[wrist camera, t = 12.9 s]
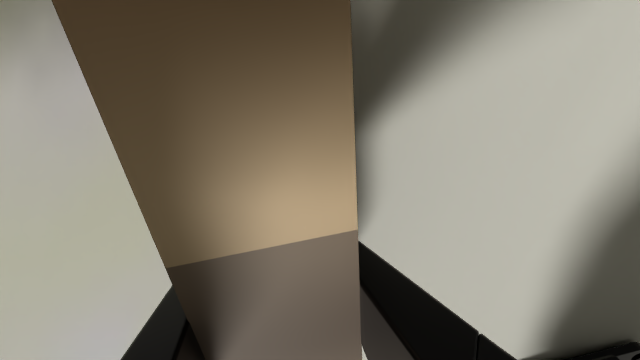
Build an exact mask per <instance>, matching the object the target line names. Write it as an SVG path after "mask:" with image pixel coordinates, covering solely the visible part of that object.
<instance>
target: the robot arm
mask: <svg viewBox="0 0 640 360" xmlns="http://www.w3.org/2000/svg"><path fill="white" fill-rule="evenodd" d="M358 251H359V282H360V325H361V344H362V346H363V349H364V352H365V354H366V357H367V359H368V360H517V359H515V358H514V357H513V356H511V355H510V354H508V353H507V352H506V351H504V350H503V349H502V348H500V347H499V346H497V345H496V344H495V343H493V342H492V341H491V340H489V339H488V338H487V337H485V336H484V335H483V334H479V332H478V331H477V330H476V329H475V328H473V327H472V326H471V325H469V324H468V323H467V322H465V321H464V320H463V319H461V318H460V317H459V316H457V315H456V314H455V313H454V312H452V311H451V310H450V309H448V308H447V307H446V306H444V305H443V304H442V303H440V302H439V301H438V300H436V299H435V298H434V297H432V296H431V295H430V294H428V293H427V292H426V291H424V290H423V289H422V288H420V287H419V286H418V285H417V284H415V283H414V282H413V281H411V280H410V279H409V278H407V277H406V276H405V275H403V274H402V273H401V272H399V271H398V270H397V269H395V268H394V267H393V266H391V265H390V264H389V263H387V262H386V261H385V260H384V259H382V258H381V257H380V256H378V255H377V254H376V253H374V252H373V251H372V250H370V249H369V248H368V247H366V246H365V245H364V244H362V243H361V242H360V241H358ZM478 335H479V336H478ZM121 360H206V359H205V357H204V354H203V352H202V350H201V348H200V345H199V343H198V341H197V338H196V336H195V334H194V332H193V329H192V327H191V325H190V323H189V322H188V320H187V318H186V315H185V313H184V311H183V308H182V306H181V304H180V301H179V299H178V297H177V294H176V292H175V289H174V287H173V285H172V287H171V288H170V289H169V291H168V292H167V294H166V295H165V297H164V298H163V299H162V301H161V302H160V304H159V305H158V307H157V308H156V310H155V311H154V312H153V314H152V315H151V317H150V318H149V320H148V321H147V322H146V324H145V325H144V327H143V328H142V330H141V331H140V333H139V334H138V335H137V337H136V338H135V340H134V341H133V343H132V344H131V345H130V347H129V348H128V350H127V351H126V353H125V354H124V356H123V357H122V358H121ZM568 360H640V344H639V343H638V342H632V343H629V344H625V345H621V346H617V347H614V348H610V349H606V350H602V351H598V352H595V353H591V354H587V355H583V356H580V357H576V358H572V359H568Z"/></svg>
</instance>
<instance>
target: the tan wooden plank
mask: <svg viewBox="0 0 640 360" xmlns="http://www.w3.org/2000/svg"><path fill="white" fill-rule="evenodd" d="M52 2H53V5H54V7H55V9H56V12H57V14H58V16H59V19H60V21H61V24H62V26H63V28H64V31H65V33H66V35H67V38H68V40H69V42H70V45H71V47H72V49H73V52H74V54H75V56H76V59H77V61H78V64H79V66H80V68H81V71H82V73H83V75H84V78H85V80H86V82H87V85H88V87H89V89H90V92H91V94H92V96H93V99H94V101H95V104H96V106H97V108H98V111H99V113H100V115H101V118H102V120H103V122H104V125H105V127H106V129H107V132H108V134H109V136H110V139H111V141H112V144H113V146H114V148H115V151H116V153H117V155H118V158H119V160H120V162H121V165H122V167H123V169H124V172H125V174H126V176H127V179H128V181H129V184H130V186H131V188H132V191H133V193H134V195H135V198H136V200H137V202H138V205H139V207H140V209H141V212H142V214H143V217H144V219H145V221H146V224H147V226H148V228H149V231H150V233H151V235H152V238H153V240H154V242H155V245H156V247H157V249H158V252H159V254H160V257H161V259H162V261H163V264H164V266H165V268H166V271H167V273H168V275H169V278H170V280H171V282H172V285H173V287H174V289H175V292H176V294H177V297H178V299H179V301H180V304H181V306H182V308H183V311H184V313H185V315H186V318H187V320H188V322H189V323H190V325H191V327H192V329H193V332H194V334H195V336H196V338H197V341H198V343H199V345H200V348H201V350H202V352H203V354H204V357H205V359H206V360H362V344H361V325H360V282H359V251H358V221H357V190H356V159H355V129H354V98H353V67H352V36H351V6H350V0H52Z"/></svg>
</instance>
